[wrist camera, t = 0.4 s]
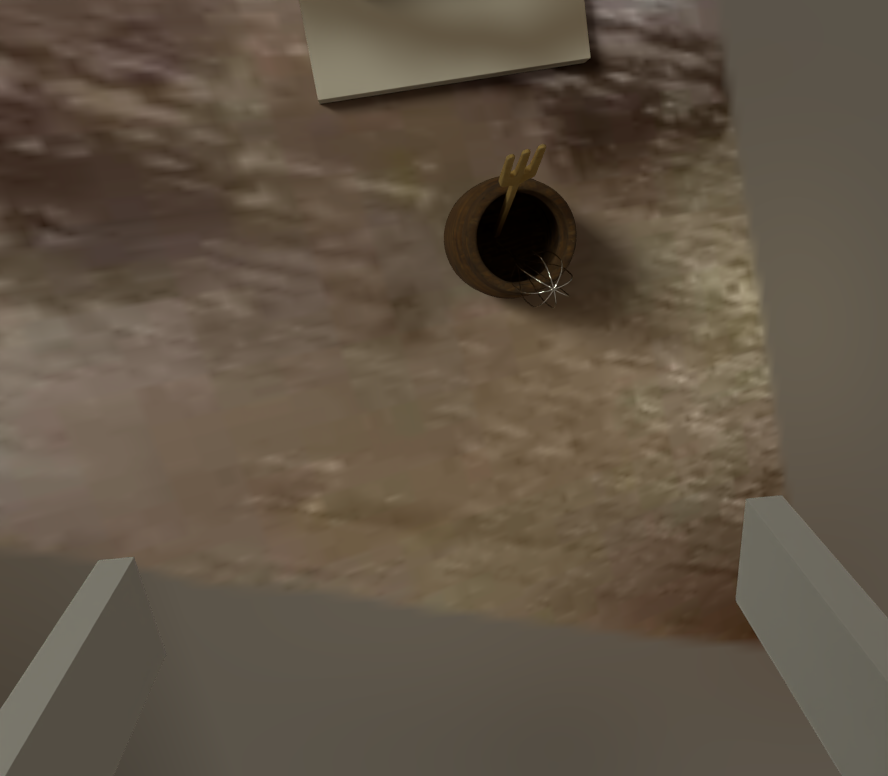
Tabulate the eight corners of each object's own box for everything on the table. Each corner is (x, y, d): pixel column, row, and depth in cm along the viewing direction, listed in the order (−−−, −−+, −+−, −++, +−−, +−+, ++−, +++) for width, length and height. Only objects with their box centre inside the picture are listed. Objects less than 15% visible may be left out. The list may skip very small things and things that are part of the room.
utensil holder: (460, 307, 39) (498, 336, 27) (425, 195, 37) (450, 173, 26) (561, 274, 39) (642, 289, 27) (530, 161, 38) (602, 125, 26)
